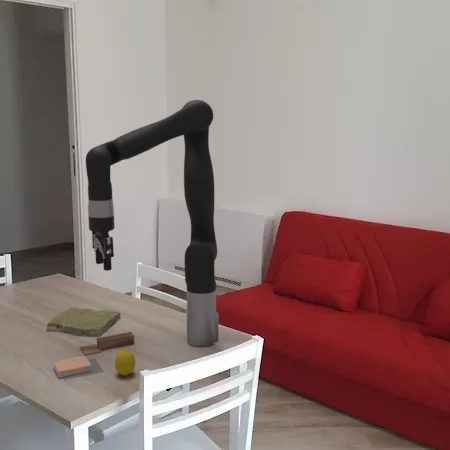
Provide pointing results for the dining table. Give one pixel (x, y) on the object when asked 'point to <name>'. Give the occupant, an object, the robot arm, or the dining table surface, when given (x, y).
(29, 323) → the dining table surface
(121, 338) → the brown long stepped block
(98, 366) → the slate mat
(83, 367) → the pink scouring sponge
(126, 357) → the lemon
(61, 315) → the olive green stone slab
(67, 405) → the dining table surface
